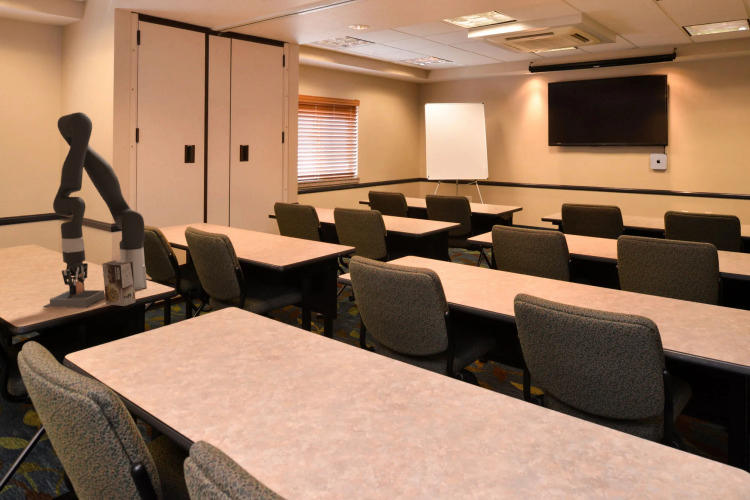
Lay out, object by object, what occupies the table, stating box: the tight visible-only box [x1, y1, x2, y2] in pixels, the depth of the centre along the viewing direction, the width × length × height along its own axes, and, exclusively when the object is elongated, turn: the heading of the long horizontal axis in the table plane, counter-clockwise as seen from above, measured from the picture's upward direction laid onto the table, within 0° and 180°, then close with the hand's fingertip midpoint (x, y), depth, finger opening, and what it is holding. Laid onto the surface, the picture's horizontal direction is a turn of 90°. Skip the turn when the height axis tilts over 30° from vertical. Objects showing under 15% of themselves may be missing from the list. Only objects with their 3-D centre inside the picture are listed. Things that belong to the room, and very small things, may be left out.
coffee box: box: [101, 259, 136, 307], centre depth 212 cm, size 9×6×16 cm
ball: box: [75, 280, 85, 294], centre depth 213 cm, size 5×5×5 cm
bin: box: [49, 289, 106, 309], centre depth 214 cm, size 14×14×3 cm
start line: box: [42, 302, 51, 308], centre depth 214 cm, size 2×14×1 cm, turn 179°
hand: (77, 292), depth 213 cm, fingers closed on ball, 5 cm apart
